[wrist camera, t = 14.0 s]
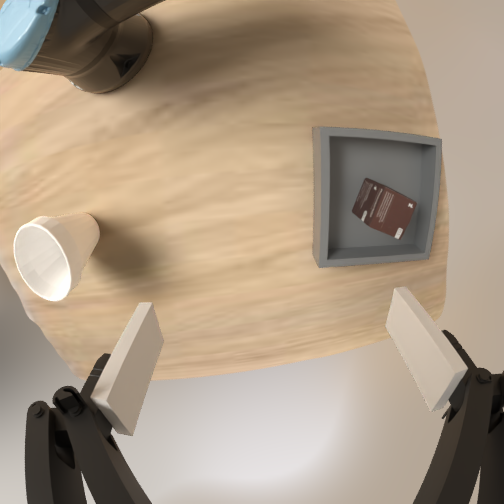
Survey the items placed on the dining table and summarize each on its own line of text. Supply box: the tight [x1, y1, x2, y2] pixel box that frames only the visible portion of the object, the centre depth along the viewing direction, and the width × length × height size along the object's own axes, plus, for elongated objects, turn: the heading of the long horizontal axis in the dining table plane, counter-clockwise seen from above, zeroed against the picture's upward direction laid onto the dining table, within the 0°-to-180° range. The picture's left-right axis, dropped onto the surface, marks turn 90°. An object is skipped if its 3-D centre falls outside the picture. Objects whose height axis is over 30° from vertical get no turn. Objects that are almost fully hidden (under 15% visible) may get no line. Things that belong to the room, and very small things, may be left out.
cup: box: [14, 212, 100, 301], centre depth 36 cm, size 12×12×14 cm
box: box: [352, 178, 417, 240], centre depth 36 cm, size 6×6×7 cm
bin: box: [312, 127, 442, 268], centre depth 38 cm, size 20×20×5 cm
